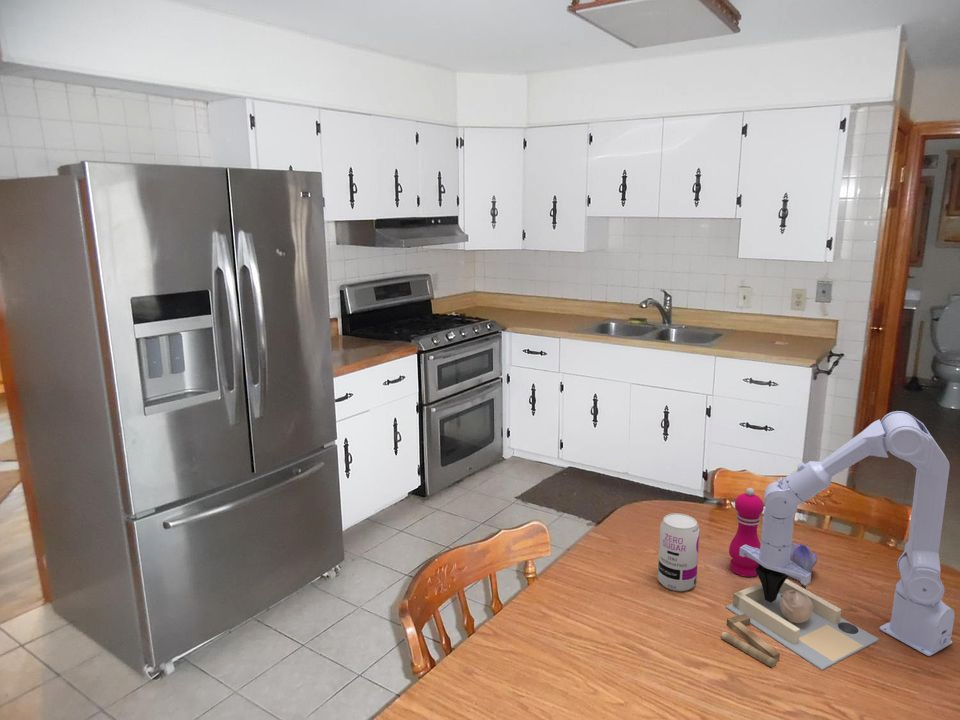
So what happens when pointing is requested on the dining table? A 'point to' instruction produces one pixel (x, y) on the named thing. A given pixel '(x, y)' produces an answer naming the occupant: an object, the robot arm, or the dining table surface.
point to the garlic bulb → (796, 606)
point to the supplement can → (678, 552)
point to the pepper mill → (746, 532)
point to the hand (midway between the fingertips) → (770, 599)
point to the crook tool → (751, 635)
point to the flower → (803, 557)
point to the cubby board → (803, 626)
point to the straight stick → (748, 649)
